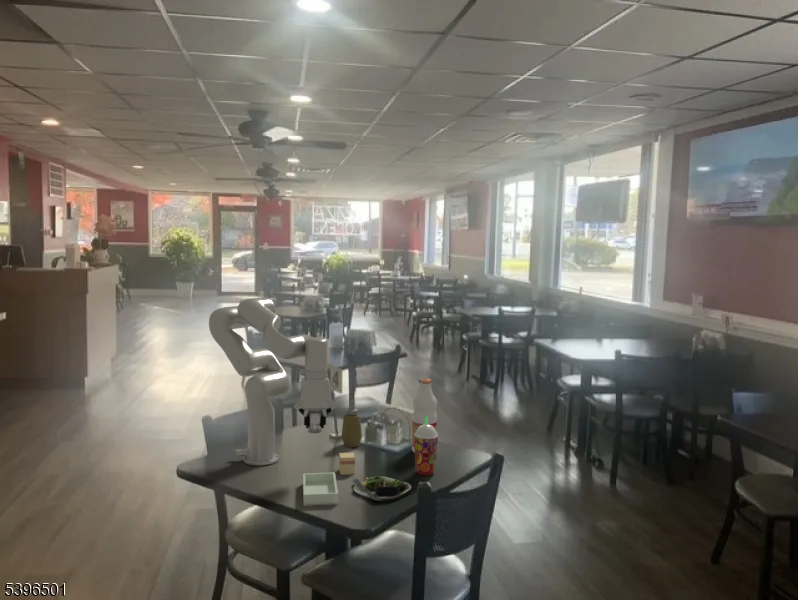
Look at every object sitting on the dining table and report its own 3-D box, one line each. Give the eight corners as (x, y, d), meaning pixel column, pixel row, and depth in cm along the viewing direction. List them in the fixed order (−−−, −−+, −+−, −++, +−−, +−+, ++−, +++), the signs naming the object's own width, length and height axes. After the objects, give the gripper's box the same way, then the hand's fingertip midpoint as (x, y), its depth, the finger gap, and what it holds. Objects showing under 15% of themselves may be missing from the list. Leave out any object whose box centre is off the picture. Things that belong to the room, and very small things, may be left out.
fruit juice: (407, 449, 250) (408, 378, 247) (428, 446, 254) (430, 376, 251) (419, 456, 241) (420, 383, 239) (440, 453, 246) (442, 381, 243)
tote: (303, 506, 194) (303, 494, 194) (303, 484, 212) (303, 473, 212) (338, 504, 196) (338, 493, 196) (334, 482, 214) (334, 472, 213)
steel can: (307, 433, 217) (308, 413, 216) (307, 429, 221) (308, 409, 221) (321, 433, 217) (322, 412, 217) (321, 429, 222) (321, 409, 221)
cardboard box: (340, 474, 221) (340, 457, 221) (339, 469, 226) (339, 453, 226) (354, 474, 222) (355, 457, 222) (353, 469, 227) (353, 452, 226)
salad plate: (336, 492, 207) (336, 478, 206) (373, 476, 221) (373, 463, 220) (383, 508, 195) (383, 493, 194) (418, 490, 209) (418, 477, 208)
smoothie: (424, 467, 230) (426, 412, 228) (442, 473, 224) (443, 417, 223) (408, 472, 224) (409, 416, 223) (425, 479, 219) (427, 421, 217)
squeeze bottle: (353, 440, 259) (353, 396, 257) (366, 445, 253) (366, 400, 251) (337, 444, 254) (337, 400, 252) (349, 450, 248) (350, 404, 246)
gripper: (290, 377, 212) (289, 431, 214) (341, 376, 215) (340, 430, 217) (290, 372, 220) (289, 424, 221) (340, 372, 222) (339, 423, 224)
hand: (314, 426), depth 219 cm, fingers closed on steel can, 4 cm apart
